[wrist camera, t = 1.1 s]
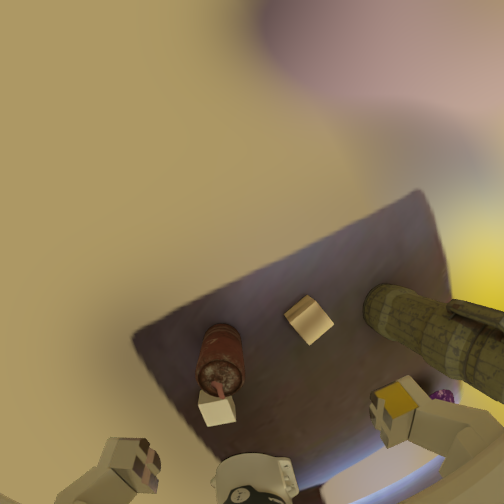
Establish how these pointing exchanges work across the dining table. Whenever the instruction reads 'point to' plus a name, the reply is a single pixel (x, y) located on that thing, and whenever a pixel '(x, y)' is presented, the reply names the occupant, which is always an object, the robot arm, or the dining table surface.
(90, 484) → the robot arm
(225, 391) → the can
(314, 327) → the maple block
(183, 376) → the dining table surface
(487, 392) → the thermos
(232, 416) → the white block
